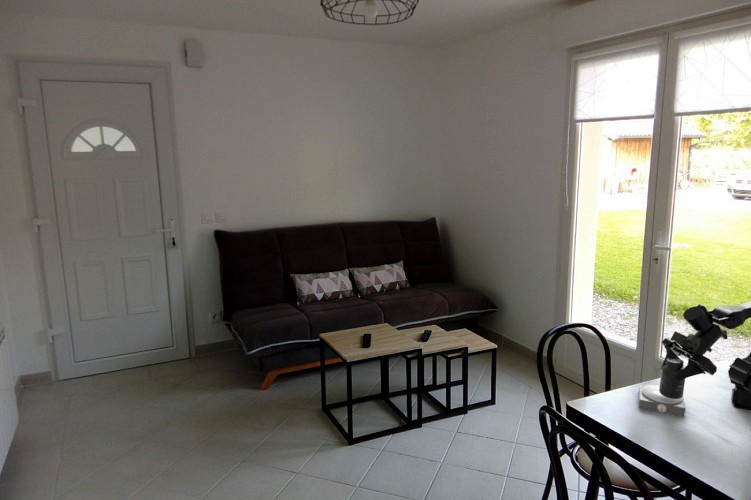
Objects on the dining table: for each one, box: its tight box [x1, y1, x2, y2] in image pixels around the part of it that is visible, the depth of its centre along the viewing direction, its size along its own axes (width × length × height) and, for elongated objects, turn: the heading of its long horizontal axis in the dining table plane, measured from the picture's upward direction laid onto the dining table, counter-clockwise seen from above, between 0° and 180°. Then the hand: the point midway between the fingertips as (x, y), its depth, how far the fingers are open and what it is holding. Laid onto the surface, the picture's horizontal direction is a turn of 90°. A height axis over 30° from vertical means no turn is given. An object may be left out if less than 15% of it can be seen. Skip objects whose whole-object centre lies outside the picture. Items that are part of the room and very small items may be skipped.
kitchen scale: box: [638, 383, 686, 418], centre depth 174 cm, size 13×14×4 cm
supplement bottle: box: [659, 357, 686, 399], centre depth 167 cm, size 7×7×12 cm
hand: (669, 374), depth 167 cm, fingers closed on supplement bottle, 7 cm apart
